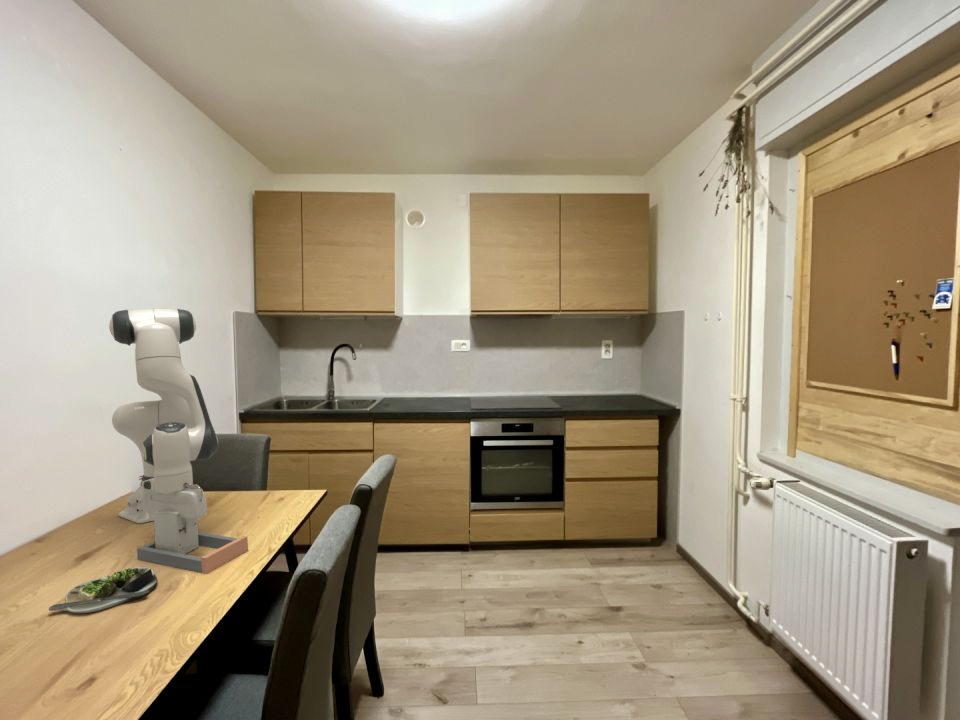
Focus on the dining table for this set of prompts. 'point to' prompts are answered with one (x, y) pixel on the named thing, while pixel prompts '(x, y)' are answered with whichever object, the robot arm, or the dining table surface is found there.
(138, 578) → the salad plate
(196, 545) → the supplement box
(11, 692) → the dining table surface
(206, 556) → the bay
